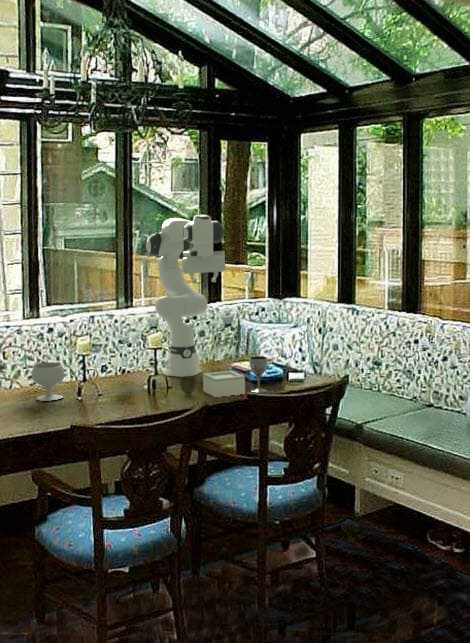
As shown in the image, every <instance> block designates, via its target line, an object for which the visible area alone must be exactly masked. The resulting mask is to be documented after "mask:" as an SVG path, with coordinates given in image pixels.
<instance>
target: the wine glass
mask: <svg viewBox="0 0 470 643" xmlns="http://www.w3.org/2000/svg"><path fill="white" fill-rule="evenodd" d="M249 368H250V371H251V372H252V373H253V375H255V377H256V379H257V388H255V389H251V390H250V392H251V393H254V392H255V393H256V394H261V393H266V392H268V391H267V389H265V388H261V387H260V383H261V378H262V376H263V374H264V373H265V372H266V371H267V368H268V357H267V356H264V355H256V356H255V355H254V356H250V357H249Z"/></svg>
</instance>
